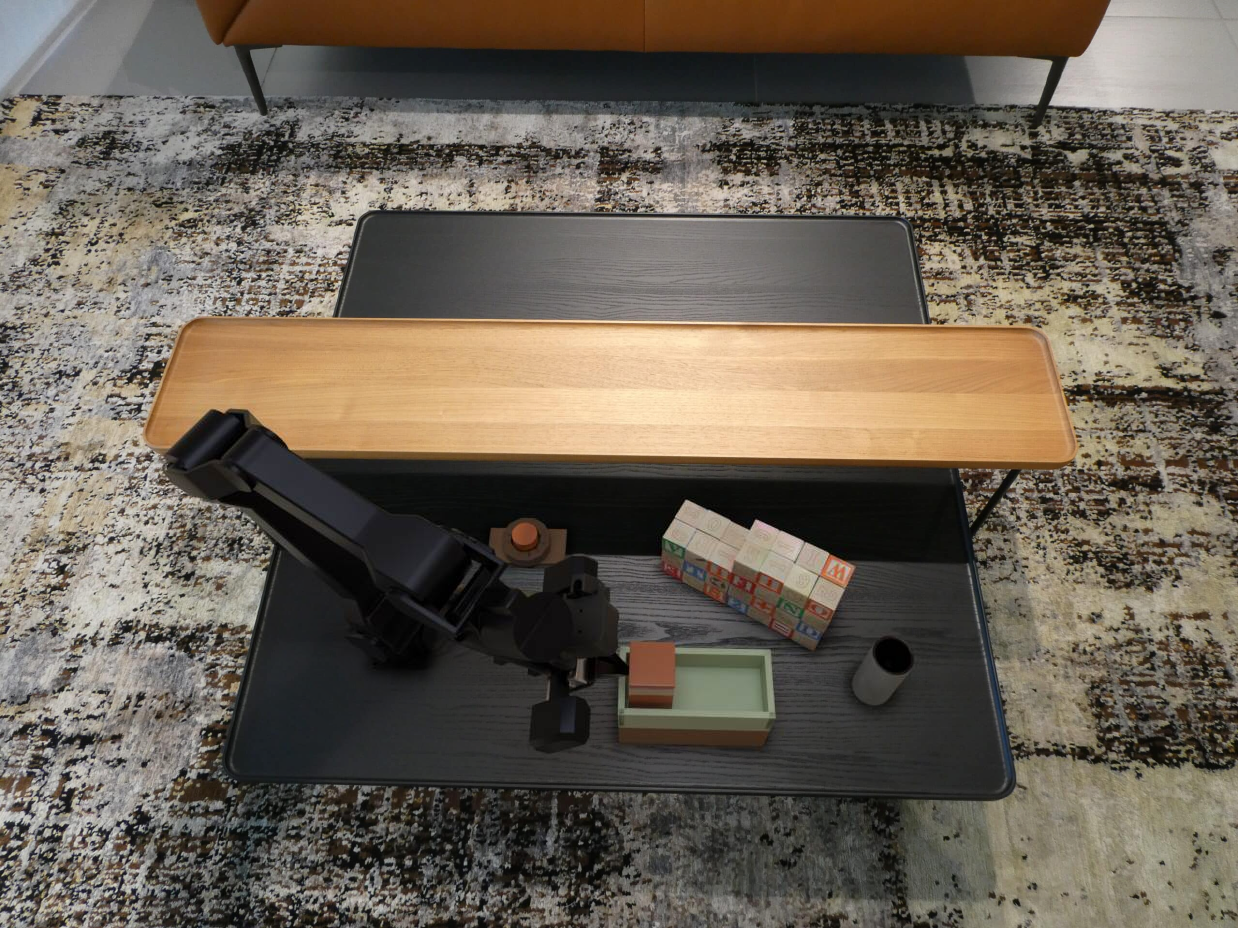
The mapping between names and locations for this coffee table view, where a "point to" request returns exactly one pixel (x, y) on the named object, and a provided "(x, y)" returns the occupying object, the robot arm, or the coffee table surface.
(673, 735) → the bin
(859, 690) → the planter
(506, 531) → the button block
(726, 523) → the stack of blocks
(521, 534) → the button
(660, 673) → the orange rectangular box
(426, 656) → the robot arm
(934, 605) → the coffee table surface
